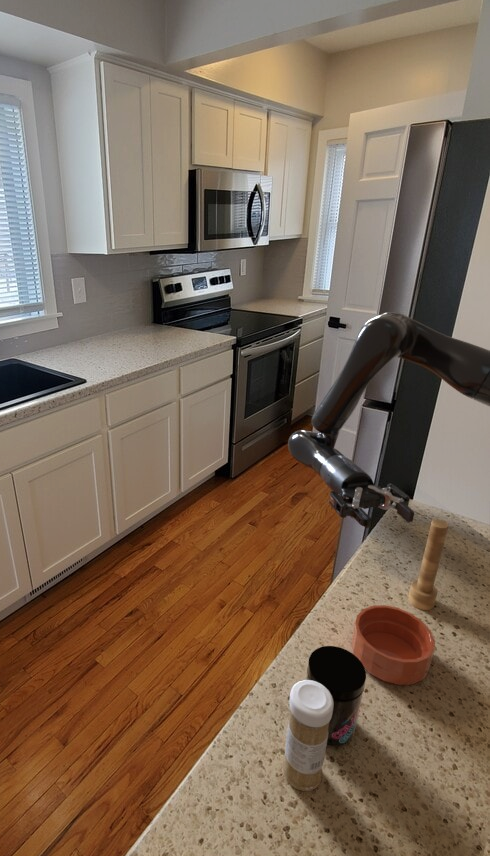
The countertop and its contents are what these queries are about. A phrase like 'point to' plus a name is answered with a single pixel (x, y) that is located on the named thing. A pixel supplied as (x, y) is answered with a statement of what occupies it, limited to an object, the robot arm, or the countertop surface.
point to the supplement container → (339, 689)
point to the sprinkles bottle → (307, 734)
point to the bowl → (393, 644)
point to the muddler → (429, 568)
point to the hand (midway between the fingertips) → (390, 521)
